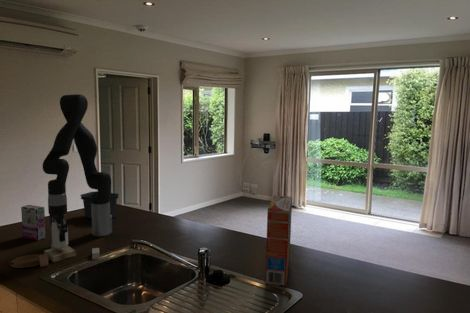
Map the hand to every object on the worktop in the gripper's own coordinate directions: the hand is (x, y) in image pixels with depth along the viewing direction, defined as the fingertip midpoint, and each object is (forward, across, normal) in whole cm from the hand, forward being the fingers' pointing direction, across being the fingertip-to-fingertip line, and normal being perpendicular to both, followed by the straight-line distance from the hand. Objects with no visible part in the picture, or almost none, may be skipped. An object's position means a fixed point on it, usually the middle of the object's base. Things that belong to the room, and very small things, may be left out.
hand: (59, 239), depth 163 cm
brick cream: (+7, -11, -10) cm, 16 cm away
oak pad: (+8, 0, 0) cm, 8 cm away
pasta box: (+8, -80, -57) cm, 99 cm away
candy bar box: (+8, +32, 0) cm, 33 cm away
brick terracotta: (+8, -3, +8) cm, 12 cm away
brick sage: (+8, +9, -3) cm, 13 cm away
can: (+3, 0, 0) cm, 3 cm away
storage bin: (+8, +42, -41) cm, 59 cm away
